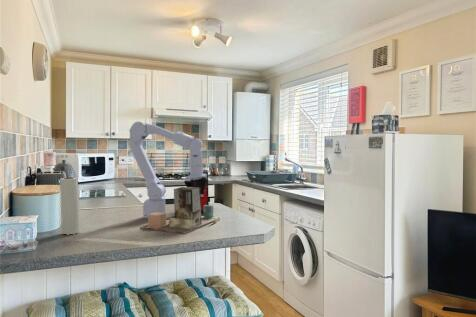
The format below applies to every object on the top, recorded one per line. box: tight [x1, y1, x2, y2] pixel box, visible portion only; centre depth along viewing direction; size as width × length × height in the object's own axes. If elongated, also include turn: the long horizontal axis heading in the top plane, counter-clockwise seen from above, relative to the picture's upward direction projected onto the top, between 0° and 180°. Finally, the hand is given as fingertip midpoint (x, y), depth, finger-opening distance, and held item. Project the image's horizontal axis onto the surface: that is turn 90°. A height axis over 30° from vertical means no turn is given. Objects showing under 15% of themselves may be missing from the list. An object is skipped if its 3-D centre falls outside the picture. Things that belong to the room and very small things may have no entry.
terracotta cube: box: [147, 212, 167, 228], centre depth 136 cm, size 5×5×5 cm
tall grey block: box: [59, 177, 80, 236], centre depth 131 cm, size 7×6×21 cm
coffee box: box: [173, 186, 203, 227], centre depth 137 cm, size 9×6×16 cm
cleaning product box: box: [188, 169, 210, 215], centre depth 172 cm, size 16×9×20 cm, turn 6°
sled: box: [168, 204, 221, 230], centre depth 143 cm, size 12×21×6 cm, turn 154°
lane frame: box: [139, 215, 217, 235], centre depth 139 cm, size 21×22×6 cm
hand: (196, 195), depth 154 cm, fingers open, 7 cm apart
